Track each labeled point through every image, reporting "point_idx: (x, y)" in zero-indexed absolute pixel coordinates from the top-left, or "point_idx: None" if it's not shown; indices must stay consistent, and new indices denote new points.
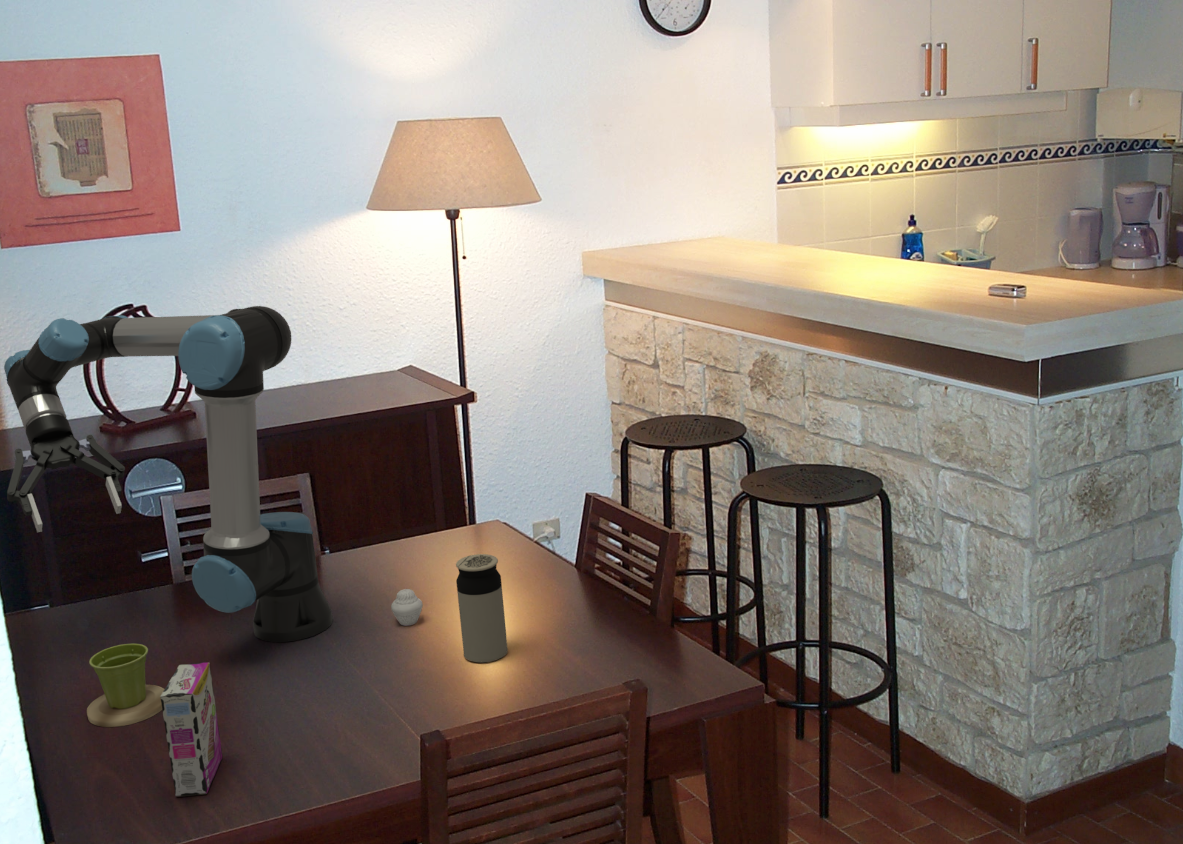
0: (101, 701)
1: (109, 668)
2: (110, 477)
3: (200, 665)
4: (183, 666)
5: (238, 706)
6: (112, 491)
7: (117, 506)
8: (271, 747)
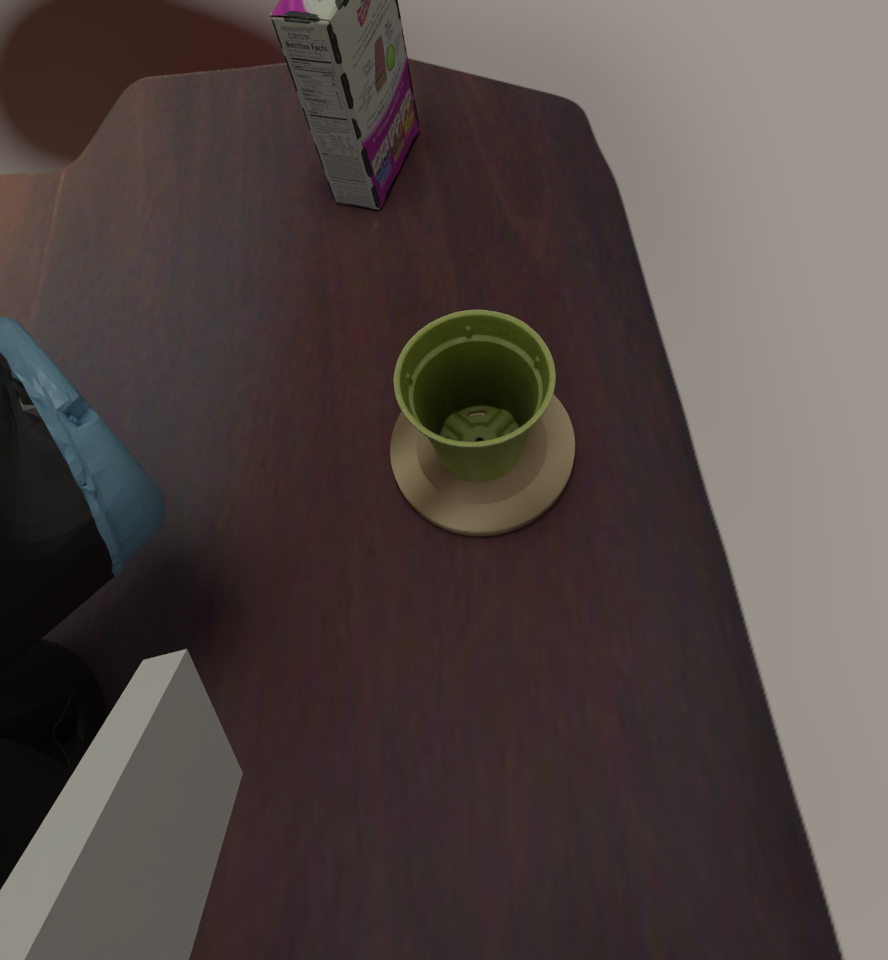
0: (542, 475)
1: (499, 313)
2: None
3: (289, 4)
4: (322, 8)
5: (266, 359)
6: (95, 808)
7: (189, 654)
8: (258, 205)
